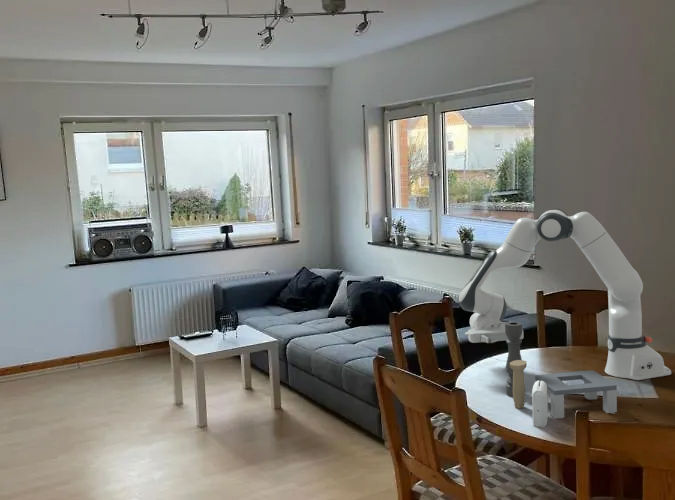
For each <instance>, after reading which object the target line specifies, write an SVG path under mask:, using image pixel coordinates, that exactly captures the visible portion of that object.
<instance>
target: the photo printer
mask: <svg viewBox="0 0 675 500" xmlns="http://www.w3.org/2000/svg"><path fill="white" fill-rule="evenodd" d="M547 393H548V390H547V385H546V383H545V382H544V381H536V382H535V381H534V383H533V386H532V390H531V397H532V398H531V400H532V424H533V426H534V427H536V428H544V427H546V426H547V425H548V424H547V423H548V416H549V415H548V414H549V411H548V410H549V405H548V403H549V402H548V401H549V400H547Z"/></svg>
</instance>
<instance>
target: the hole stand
mask: <svg viewBox="0 0 675 500" xmlns="http://www.w3.org/2000/svg"><path fill="white" fill-rule="evenodd" d="M576 380H577V381H578V380H582V381H583V383H580V384H578V383H577V384H566V383H565V381H567V382H568V381H576ZM536 381H544V382H545V383H546V385H547V400H548V397H549V396H548V393H550V416H551V417H552V418H553V419H555V420H557V419H563V418H565V396H566V395H575V394H584V398H586V399H587V400H589V401H590V400H597V399H598V393H599V392H602V411H605V412H604V413H605V414H607V413H611V414H616V413H615V412H617V413H618V409H617V407H618V405H617V404H618V401H617V397H618V396H617V391H618V389H617V384H615V383H614V382H612V381H610V380H609V379H608V378H606V377H604V376H602V374H599V373H598V372H597V371H595V370H593V369H591V370H589V369H587V370H578V371H566V372H555V373H544V374H535V375H534V383H535V382H536ZM548 401H549V400H548Z"/></svg>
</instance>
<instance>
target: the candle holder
mask: <svg viewBox="0 0 675 500" xmlns="http://www.w3.org/2000/svg"><path fill="white" fill-rule="evenodd" d="M522 329H523V323H522V322H519V321H512V322H507V323H505V333H506V336H507V338H508V340H505V341H506V344H507V347H508V348H507V350H508V355H507V359H506V364H505V371H506V373H507V374H508V378H507V379H506V384H505V391H506V393H505V394H506V396H507V397H511V398H513V369H511V368H510V362H512V361H515V360H522V354H521V344H522V342H523V341H522V339H520V337H521V335H522Z"/></svg>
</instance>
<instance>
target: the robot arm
mask: <svg viewBox="0 0 675 500" xmlns="http://www.w3.org/2000/svg"><path fill="white" fill-rule="evenodd" d="M567 238H571V239H572V240H573V241H574V242H575V244H576V245H577V246H578V248H579V249H580V251H581V252H582V253H583V254H584V256H585V257H586V259H587V260H588V262H589V263H590V264H591V266H592V267H593V268H594V270H595V272H596V273H597V275H598V276H599V278H600V280H601V281H602V283H604V285H605V286H606V288H607V297H608V298H607V299H608V334H607V350H608V352H607V353H608V355H607V359H606V360H607V361H606V365H605V367H604V372H605V373H606V374H607V375H609V376H612V377H616V378H622V379H630V380H635V381H641V380H649V379H652V378H660V377H664V376H670V375H672V370H671V368H669V367H668V366H666V365H665V363H664V358H663V356H662V355H661V354H660V353H658V352H657V351H656V350H655V349H653V348H652V347H650V346H649V345H647V343H648V344H651V343H652V342H653V338H652V337H650V336H646V335H643V334H642V331H643V328H642V327H643V325H642V323H643V321H642V320H643V319H642V316H643V315H642V303H641V295H642V292H643V290H644V283H643V281H642V278H641V275H639V273H638V271H637V270H636V269H635V268H633V266H632V265H631V263H630V262H629V260H628V259H627V257H626V256H625V255H624V253H623V252H622V251H621V249H620V247H619V246H618V244H617V243H616V242H615V241H614V240H613V238H612V237H611V236H610V234H609V233H608V231H607V230H606V229H605V227H604V226H603V225H602V223H600V222H599V220H597V218H595V216H593V215H592V214H591V213H590V212H589V211H581V212H577V213H576V214H574V215H571V216H569V215H568V214H567V213H566V211H564V210H562V209H559V208H551V209H549V210H547V211H545V212H543V213H542V214H541V215H539V216H538V217H536V219H533V218H530V217H520V218H518V219H517V220H516V221H515V223H513V226H512V227H511V228H510V230H509V231H508V233H507V235H506V237H505V239H504V242H503V243H502V244H501V245H500V246H499V247H498V248H497V249H495V250H492V251H490V252H489V253H488V254H487V255H486V257H485V258H483V261H482V262H481V263H480V265H479V266H478V268H477V269H476V271H475V272H474V274H473V275H472V277H471V279H469V281H468V283H466V285H464V287H463V288H462V290H461V291H460V293H459V296H458V304H459V305H460V307H461V309H462V310H464V311H467V312H471V313H472V312H473V314H472V315H471V316H470V318H469V326H470V329H468V330H467V331H466V332H464V335H465V336H467V338H468V342H470V343H473V344H474V343H475V344H476V343H487V344H494V343H496V342H500V341H501V342H502V341H507V340H508V338H507V336H506V333H505V323H507V322H513V321H511V320H503V319H505V318H504V317H505V316H506V313H507V310H508V309H507V308H508V307H507V306H508V305H507V301H506V299H505V297H504V296H503V294H499V293H495V292H492V291H489V290H486V289H483V288H481V287H482V286H483V284H484V283H485V282H486V280H487V279H488V277H489V275H490V274H492V272H494V271H497V270H502V269H515V268H516V269H517V268H519V267H520V268H521V267H523V266H524V265H525V264H526V263H527V262H528V261H529V260H530V257H531V256H532V254H533V252H534V249H535V247H536V245H537V244H538V242H539V241H540V240H544V241H547V242H558V241H561V240H564V239H567ZM523 339H524V329H523V328H522V335H521V337H520V340H523Z"/></svg>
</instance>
